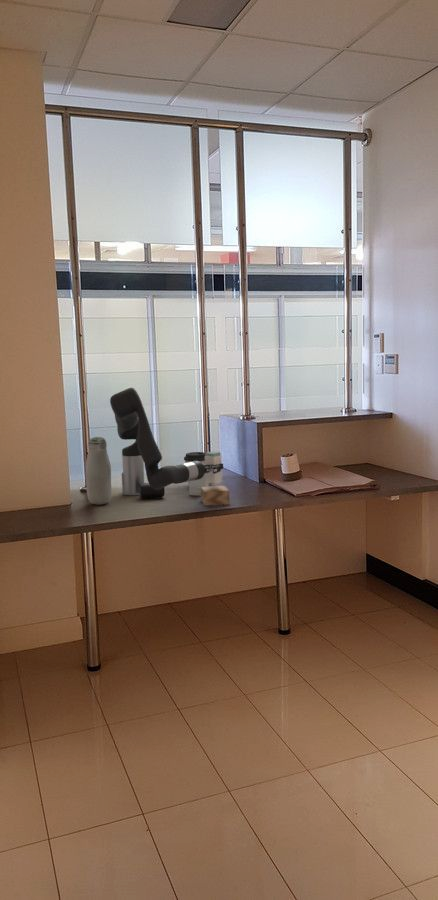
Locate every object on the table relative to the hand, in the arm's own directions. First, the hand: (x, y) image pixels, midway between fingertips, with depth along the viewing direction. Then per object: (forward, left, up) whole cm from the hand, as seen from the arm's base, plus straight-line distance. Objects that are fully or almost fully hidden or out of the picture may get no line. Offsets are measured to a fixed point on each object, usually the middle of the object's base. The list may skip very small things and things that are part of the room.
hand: (217, 465), depth 291 cm
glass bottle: (-48, -7, -15) cm, 51 cm away
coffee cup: (-14, +31, -15) cm, 37 cm away
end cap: (-29, +5, -15) cm, 33 cm away
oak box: (-1, -3, -15) cm, 15 cm away
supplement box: (-10, +14, -15) cm, 23 cm away
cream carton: (-1, -2, -6) cm, 7 cm away
